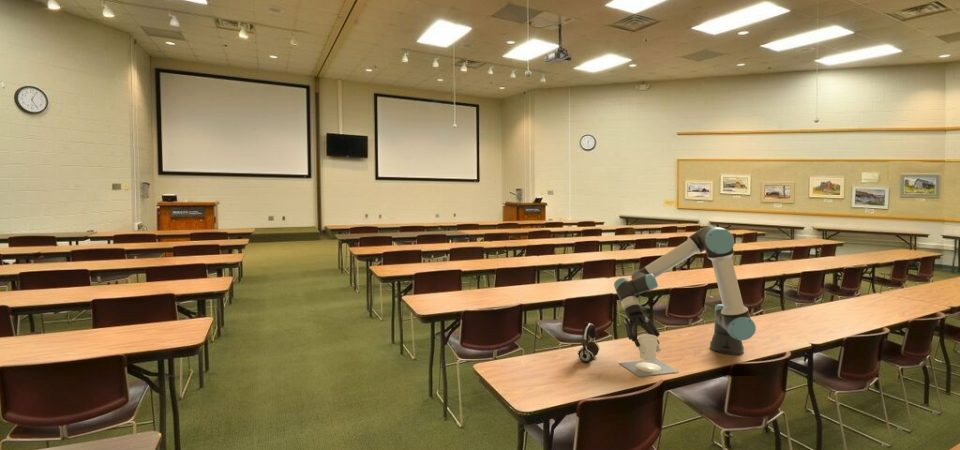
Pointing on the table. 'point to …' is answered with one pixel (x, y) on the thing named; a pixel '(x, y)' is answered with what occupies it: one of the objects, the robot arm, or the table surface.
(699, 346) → the table surface
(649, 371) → the card
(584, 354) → the headset
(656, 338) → the white cup
